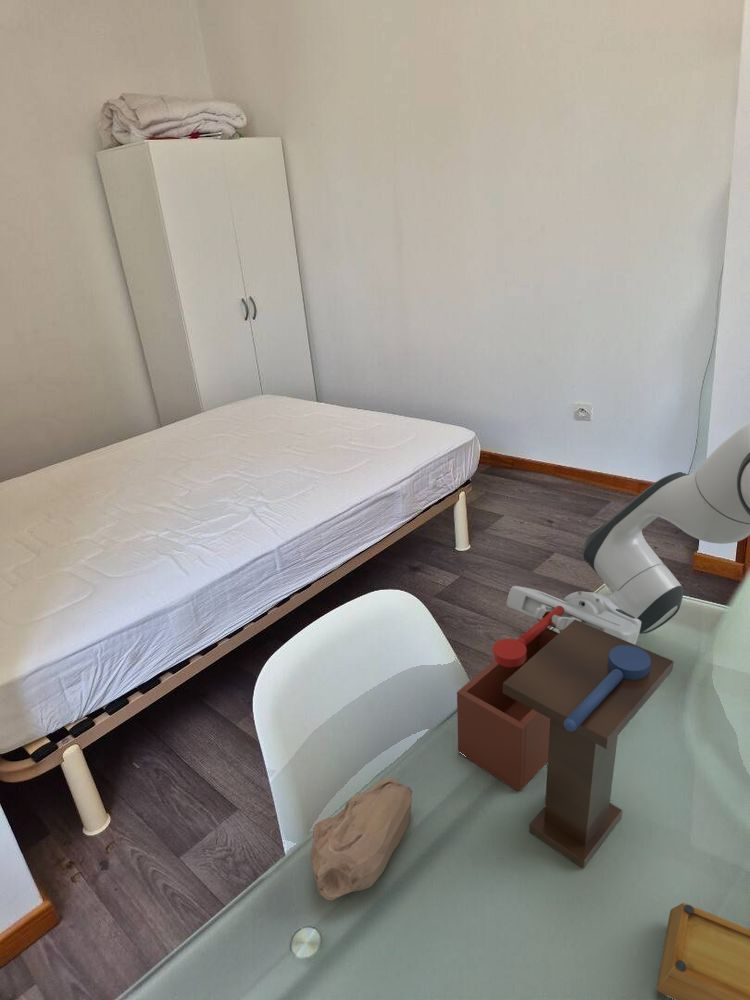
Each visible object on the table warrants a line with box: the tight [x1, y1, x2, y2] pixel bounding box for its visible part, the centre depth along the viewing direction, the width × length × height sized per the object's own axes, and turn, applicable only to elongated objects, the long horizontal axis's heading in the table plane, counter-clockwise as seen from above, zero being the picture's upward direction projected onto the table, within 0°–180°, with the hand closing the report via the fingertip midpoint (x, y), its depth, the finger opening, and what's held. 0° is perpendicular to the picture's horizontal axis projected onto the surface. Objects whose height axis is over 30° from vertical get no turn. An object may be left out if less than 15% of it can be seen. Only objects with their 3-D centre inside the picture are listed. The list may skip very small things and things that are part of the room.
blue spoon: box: [564, 645, 651, 731], centre depth 77 cm, size 16×5×1 cm, turn 135°
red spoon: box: [492, 606, 564, 667], centre depth 99 cm, size 16×5×1 cm, turn 135°
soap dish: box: [656, 902, 750, 1000], centre depth 72 cm, size 12×10×5 cm
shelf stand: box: [503, 620, 675, 870], centre depth 86 cm, size 16×13×26 cm
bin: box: [456, 627, 560, 793], centre depth 104 cm, size 21×11×12 cm, turn 135°
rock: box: [309, 777, 413, 901], centre depth 88 cm, size 18×10×10 cm
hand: (547, 618), depth 101 cm, fingers closed on red spoon, 1 cm apart
